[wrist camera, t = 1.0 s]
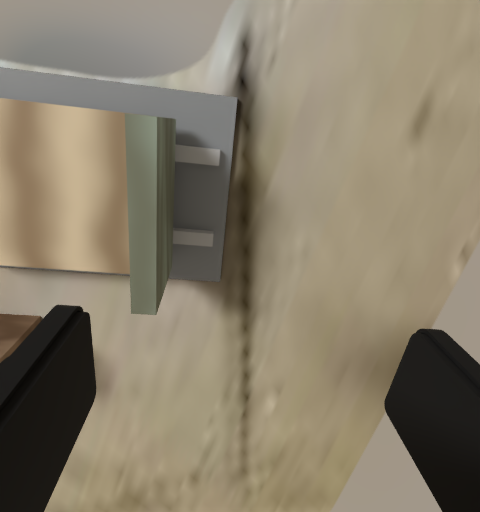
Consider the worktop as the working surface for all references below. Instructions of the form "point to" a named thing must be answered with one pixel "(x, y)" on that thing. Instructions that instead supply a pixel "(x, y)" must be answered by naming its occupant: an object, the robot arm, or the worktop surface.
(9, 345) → the walnut block
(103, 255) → the multicoloured piece
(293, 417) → the worktop surface
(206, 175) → the rail track
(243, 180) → the worktop surface
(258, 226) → the worktop surface
